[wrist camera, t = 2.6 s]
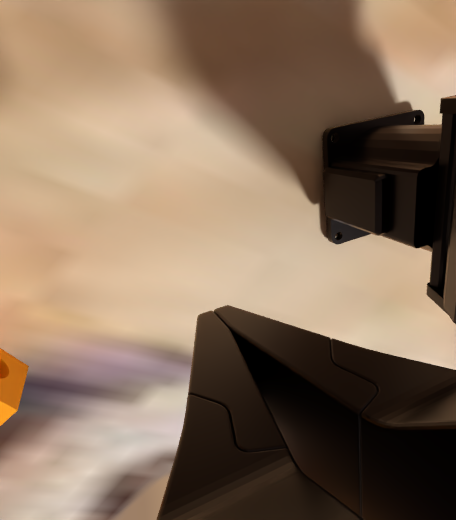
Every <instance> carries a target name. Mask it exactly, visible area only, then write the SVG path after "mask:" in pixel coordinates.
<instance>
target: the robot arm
mask: <svg viewBox="0 0 456 520" xmlns="http://www.w3.org/2000/svg"><path fill="white" fill-rule="evenodd" d="M440 113H443V115H442V125H424V113H423V112H422V111H421V110H411V111H407V112H402V113H397V114H393V115H388V116H383V117H378V118H374V119H369V120H364V121H360V122H355V123H350V124H345V125H341V126H336V127H331V128H328V129H327V130H326V131H325V132H324V134H323V139H322V140H323V159H324V172H323V180H324V198H325V215H326V217H327V236H328V240H329V241H330V242H332V243H335V244H341V243H344V242H347V241H350V240H353V239H356V238H359V237H363V236H366V235H369V234H374V235H380V236H383V237H386V238H389V239H392V240H394V241H397V242H400V243H403V244H406V245H408V246H411V247H414V248H422V249H425V250H428V251H431V252H432V260H431V273H430V282H429V283H428V284H427V295H428V296H429V297H430V298H431V299H432V300H433V301H434V302H435V303H436V304H437V305H438V306H439V307H440V308H442V309H443V310H444V311H445V312H446V313H447V314H448V315H449V316H450V318H451V319H452V321H453V322H454V323H455V324H456V95H455V96H450V97H445V98H441V104H440ZM414 118H415V122H414ZM332 134H334V136H335V137H334V140H333V142H332V141H331V136H332ZM337 233H338V236H337V237H336V238H335V235H336V234H337ZM157 520H456V370H453V369H449V368H444V367H440V366H436V365H431V364H427V363H423V362H419V361H414V360H410V359H406V358H402V357H397V356H393V355H389V354H385V353H381V352H377V351H373V350H369V349H365V348H362V347H359V346H355V345H352V344H349V343H345V342H342V341H339V340H336V339H330V338H329V337H326V336H323V335H320V334H317V333H314V332H310V331H307V330H304V329H301V328H298V327H295V326H292V325H289V324H285V323H282V322H279V321H276V320H273V319H270V318H267V317H264V316H260V315H257V314H254V313H251V312H248V311H245V310H242V309H239V308H235V307H232V306H229V305H227V306H223V307H220V308H217V309H215V310H214V312H213V311H208V312H205V313H202V314H200V315H198V318H197V326H196V334H195V342H194V350H193V359H192V367H191V375H190V383H189V392H188V398H187V406H186V413H185V419H184V425H183V430H182V433H181V437H180V441H179V445H178V449H177V453H176V456H175V459H174V463H173V466H172V470H171V473H170V476H169V480H168V483H167V487H166V490H165V494H164V497H163V501H162V504H161V507H160V510H159V513H158V517H157Z"/></svg>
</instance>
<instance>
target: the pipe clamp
mask: <svg viewBox="0 0 456 520" xmlns="http://www.w3.org/2000/svg"><path fill="white" fill-rule="evenodd" d="M28 367H29V366H27V365H26V364H24V363H23V362H21V361H20V360H18V359H16V358H15V357H13V356H12V355H10V354H9V353H7V352H5V351H4V350H2V349H1V348H0V425H2V424H3V423H4V422H5V421H6V420H7V419H8V418H10V417H11V416H12V415H13V414H14V413H15V412H16V411H17V410H18V407H19V403H20V399H21V395H22V391H23V387H24V383H25V379H26V375H27V371H28Z"/></svg>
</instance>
